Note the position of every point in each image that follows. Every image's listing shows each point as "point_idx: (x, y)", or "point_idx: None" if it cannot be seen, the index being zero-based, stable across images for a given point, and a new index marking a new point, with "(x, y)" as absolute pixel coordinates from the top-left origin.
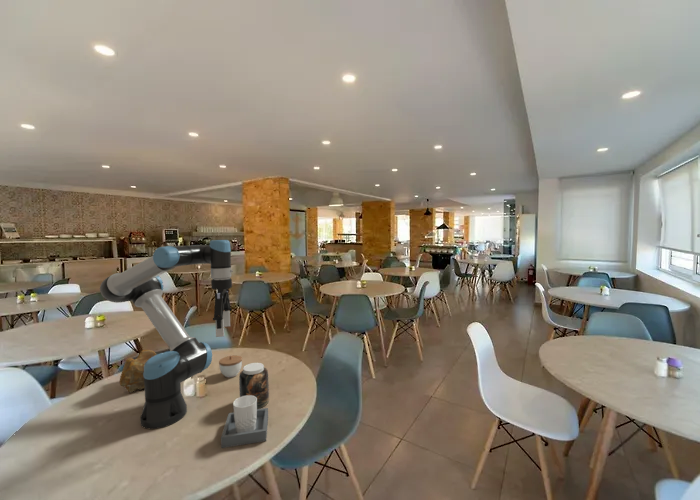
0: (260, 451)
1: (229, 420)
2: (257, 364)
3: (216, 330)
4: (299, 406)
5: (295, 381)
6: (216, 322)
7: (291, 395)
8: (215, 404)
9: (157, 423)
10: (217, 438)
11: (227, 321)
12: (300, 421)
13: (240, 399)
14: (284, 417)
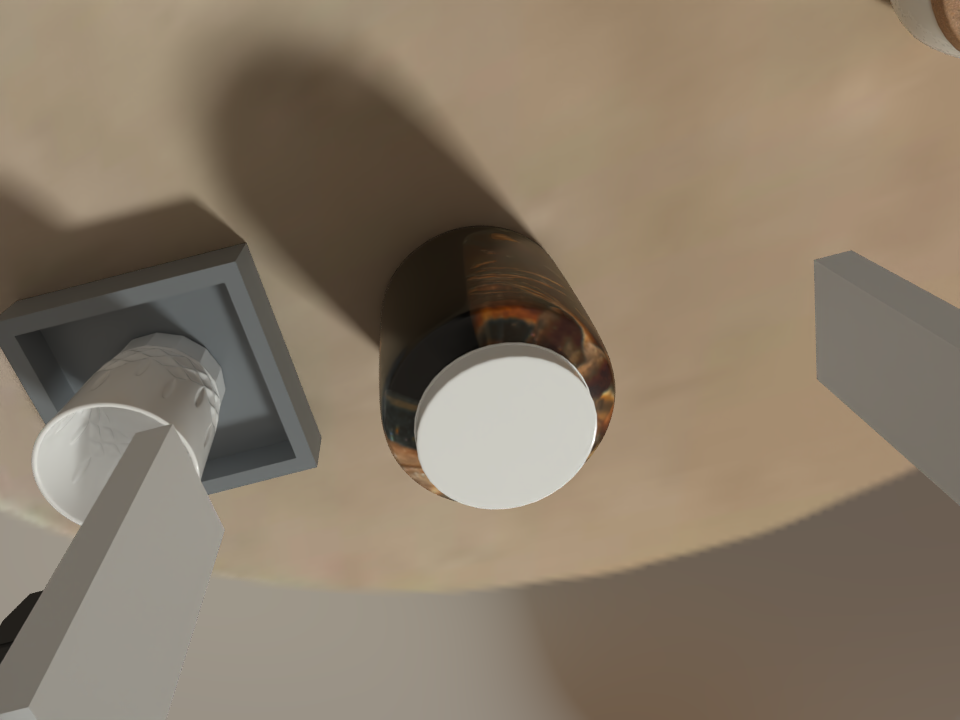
0: None
1: (165, 296)
2: (554, 451)
3: (97, 522)
4: (427, 554)
5: (713, 472)
6: (19, 676)
7: None
8: (453, 44)
9: None
10: (88, 241)
11: (877, 391)
12: (294, 586)
13: (164, 416)
14: (322, 513)
